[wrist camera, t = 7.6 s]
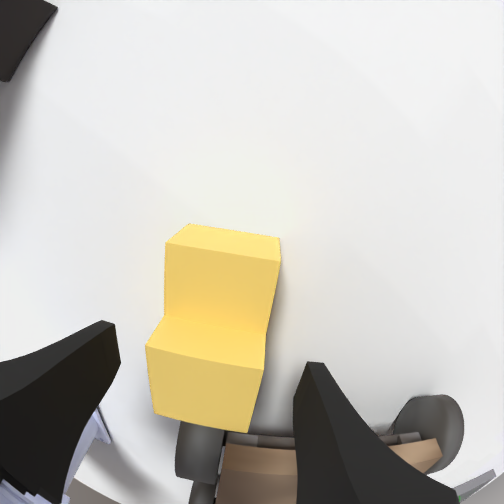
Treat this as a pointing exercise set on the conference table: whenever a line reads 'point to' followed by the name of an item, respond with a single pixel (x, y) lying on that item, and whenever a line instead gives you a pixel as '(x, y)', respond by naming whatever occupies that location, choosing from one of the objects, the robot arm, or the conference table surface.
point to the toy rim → (473, 485)
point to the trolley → (284, 455)
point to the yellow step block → (213, 326)
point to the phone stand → (19, 30)
